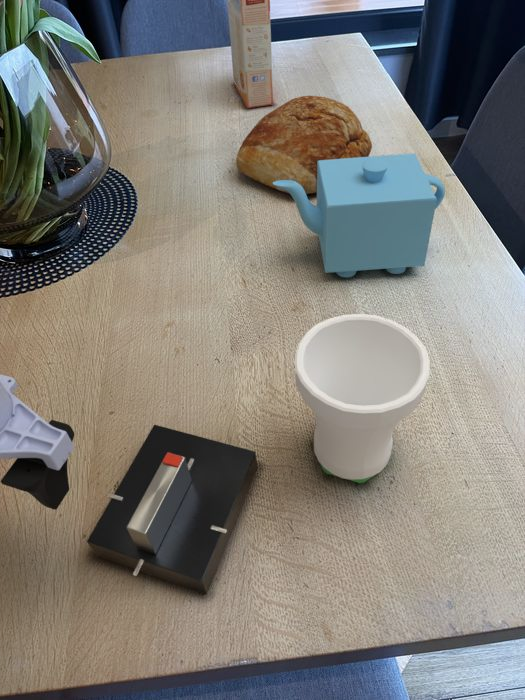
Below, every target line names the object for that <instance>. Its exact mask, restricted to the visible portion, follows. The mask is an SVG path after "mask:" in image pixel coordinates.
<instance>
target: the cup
mask: <svg viewBox="0 0 525 700" xmlns="http://www.w3.org/2000/svg"><path fill="white" fill-rule="evenodd" d="M294 375H295V387H296V389H297V391H298V393H299V395H300V397H301V399H302V400H303V402H304V403H305V404H306V405H307V407H309V409H310V410H311V411H312V413H313V415H314V419H315V424H316V425H315V429H314V434H313V453H314V454H315V456H316V459H317V461H318V463H319V465H320V466H321V469H322V470H323V472H324V473H325V474H326V475H331V476H335V477H339V479H345V480H349V481H352V482H355V483H357V484H364V483H365V482H367V481H368V480H370V479H372V478H373V477H375V475H377V474H380V473H382V471H383V470H384V468H385V467H386V466H388V464H389V462H390V458H391V455H392V451H393V440H394V437H393V434H394V430H395V429H396V427H397V425H398V424H399V423H400V422H401V421H402V420H403V421H404V419H406V418H408V417H409V416H411V415H412V413H413V412H414V411H415V410H416V409H417V407H418V406H419V405H420V403H421V401H422V399H423V397H424V394H425V393H426V389H427V386H428V382H429V379H430V375H431V360H430V357H429V352H428V349H427V348H426V346H425V345H424V344H423V342H422V341H421V340H420V338H419V337H418V336H417V335H416V334H414V333H413V332H412V331H411V330H409V329H408V328H407V327H405V326H404V325H401V324H400V323H398V322H396V321H394V320H392V319H388V318H386V317H383V316H380V315H378V314H366V313H352V314H342V315H337V316H335V317H331V318H327V319H325V320H322V321H320V322H318V323H316V324H315V325H313V326H312V327H311V328H310V329H309V330H308V331H307V332H306V333H304V335H303V336H302V338H301V339H300V341H299V342H298V344H297V347H296V351H295V354H294Z"/></svg>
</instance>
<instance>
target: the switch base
mask: <svg viewBox="0 0 525 700" xmlns="http://www.w3.org/2000/svg"><path fill="white" fill-rule="evenodd" d="M167 452H169V453H172V454H176V455H179V456H183V457H185V458H186V462H187V465H188V469H189V472H190V476H191V479H192V481H191V483H190V485H189V487H188V489H187V491H186V493H185V495H184V497H183V499H182V501H181V503H180V506H179V508H178V510H177V512H176V514H175V516H174V518H173V520H172V522H171V524H170V526H169V528H168V530H167V532H166V534H165V536H164V538H163V540H162V542H161V544H160V546H159V548H158V550H157V552H156V554H152V553H149V552H146V551H143V550H140V549H137V547H136V545H135V543H134V541H133V539H132V537H131V536H130V534H129V532H128V530H127V525H128V524H129V522H130V520H131V518H132V516H133V514H134V513H135V511H136V509H137V507H138V505H139V503H140V502H141V500H142V498H143V496H144V494H145V492H146V491H147V489H148V487H149V485H150V483H151V481H152V480H153V478H154V476H155V474H156V472H157V470H158V469H159V467H160V465H161V463H162V461H163V459H164V457H165V456H166V454H167ZM257 471H258V460H257V451H255V450H250V449H248V448H245V447H244V448H243V447H240V446H236V445H232V444H228V443H225V442H222V441H218V440H214V439H211V438H207V437H202V436H199V435H195V434H191V433H187V432H184V431H181V430H176V429H172V428H168V427H165V426H161V425H157V424H153V426H152V428H151V429H150V431H149V433H148V434H147V436H146V437H145V440H144V441H143V442H142V445H141V446H140V449H139V450H138V451H137V453H136V455H135V457H134V459H133V460H132V462H131V464H130V466H129V467H128V469H127V471H126V473H125V474H124V476H123V478H122V479H121V481H120V483H119V485H118V486H117V487H116V490H115V492H114V493H111V492H110V493H109V494H108V495H107V498H110V500H109V502H108V504H107V505H106V507H105V509H104V510H103V512H102V514H101V515H100V517H99V519H98V521H97V523H96V525H95V526H94V528H93V530H92V532H91V533H90V535H89V537H88V538H87V540H86V543H87V544H88V546H89V548H90V549H91V550H92V552H93V553H94V555H95V556H96V557H98V558H102V559H104V560H107V561H109V562H112V563H116V564H119V565H121V566H125V567H127V568H130V569H133V570H134V571H133V572H132V576H134V577H137V576H138V575H139V572H142V573H145V574H148V575H150V576H152V577H155V578H158V579H162V580H164V581H167V582H170V583H173V584H176V585H179V586H181V587H184V588H188V589H190V590H193V591H195V592H199V593H202V594H205V595H207V594H208V592H209V590H210V588H211V585H212V583H213V580H214V577H215V575H216V572H217V570H218V566H219V564H220V562H221V560H222V558H223V555H224V552H225V550H226V547H227V546H228V543H229V540H230V537H231V535H232V532H233V530H234V528H235V525H236V523H237V520H238V518H239V515H240V513H241V511H242V509H243V508H242V507H243V505H244V503H245V500H246V498H247V495H248V493H249V490H250V489H251V488H250V487H251V486H252V483H253V481H254V478H255V475H256V473H257Z"/></svg>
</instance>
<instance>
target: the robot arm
mask: <svg viewBox="0 0 525 700" xmlns="http://www.w3.org/2000/svg"><path fill="white" fill-rule="evenodd" d="M18 387H19V385H18V382H17V380H16V379H15V378H14V377H12V376H8V375H5V374H1V373H0V460H5V459H6V460H7V459H9V460H10V459H15V461H14V462H13V464H12V465H11V466H10V468H9V469H8V470H7V471H6V472H5V474H4V475H3V477H2V478H1V480H0V483H1V484H2V485H3V486H7V487H10V488H13V489H16V490H19V491H23V492H25V493H28V494H29V495H31V496H32V497H33V498H34V499H35V500H36V501H37V502H38V503H40V504H41V505H42V506H44V507H46V508H49V509H51V510H58V509H59V507H60V505H61V504H62V502H63V501H64V499H65V497H66V496H67V494H68V492H69V491H70V484H69V475H68V474H69V473H68V462H69V461H68V460H69V457H70V455H71V454H72V452H74V449H75V445H74V443H73V441H74V438H75V434H76V433H75V431H74V430H73V428H72V426H71V425H70V424H69V423H65V422H62V421H58V420H55V419H50V420H49V422H48V421H46V420H45V419H44V418H42V417H41V416H40V415H38V414H37V413H36V412H35V411H34V410H33V409H31V408H30V407H29V406H28V405H27V404H25V403H24V402H23V401H22V400H20V398H19V397H17V396H16V395H14V393H15V391H16V390H17V389H18Z"/></svg>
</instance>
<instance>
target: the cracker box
mask: <svg viewBox="0 0 525 700" xmlns="http://www.w3.org/2000/svg"><path fill="white" fill-rule="evenodd" d="M226 4H227V17H228V25H229V26H228V28H229V40H230V53H231V65H232V77H233V78H232V79H233V85H234V87H235V89H236V90H237V91H238V94H239V96H240V99H242V101H243V104H244V105H245V107H246V108H247V109H251V108H258V107H265V106H266V107H267V106H271V105H274V92H273V87H274V86H273V59H272V58H273V57H272V32H271V31H272V29H271V0H226ZM234 81H235V82H234ZM235 83H236V84H235Z"/></svg>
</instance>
